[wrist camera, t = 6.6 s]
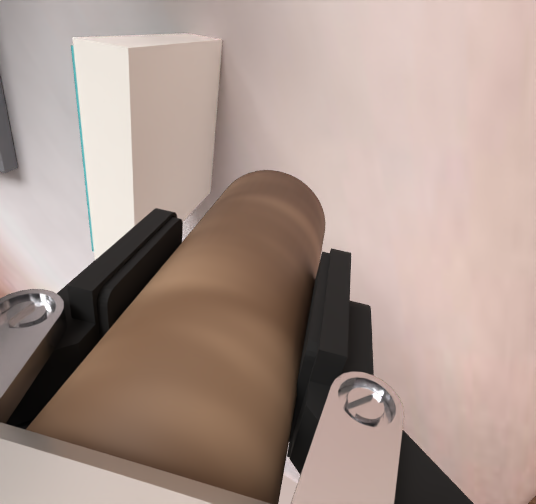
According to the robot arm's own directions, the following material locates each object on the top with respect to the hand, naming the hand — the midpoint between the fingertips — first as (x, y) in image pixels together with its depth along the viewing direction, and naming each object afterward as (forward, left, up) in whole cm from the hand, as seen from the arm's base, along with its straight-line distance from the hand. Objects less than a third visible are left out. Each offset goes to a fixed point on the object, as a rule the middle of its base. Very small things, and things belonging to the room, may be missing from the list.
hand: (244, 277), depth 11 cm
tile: (+7, 0, -14) cm, 16 cm away
